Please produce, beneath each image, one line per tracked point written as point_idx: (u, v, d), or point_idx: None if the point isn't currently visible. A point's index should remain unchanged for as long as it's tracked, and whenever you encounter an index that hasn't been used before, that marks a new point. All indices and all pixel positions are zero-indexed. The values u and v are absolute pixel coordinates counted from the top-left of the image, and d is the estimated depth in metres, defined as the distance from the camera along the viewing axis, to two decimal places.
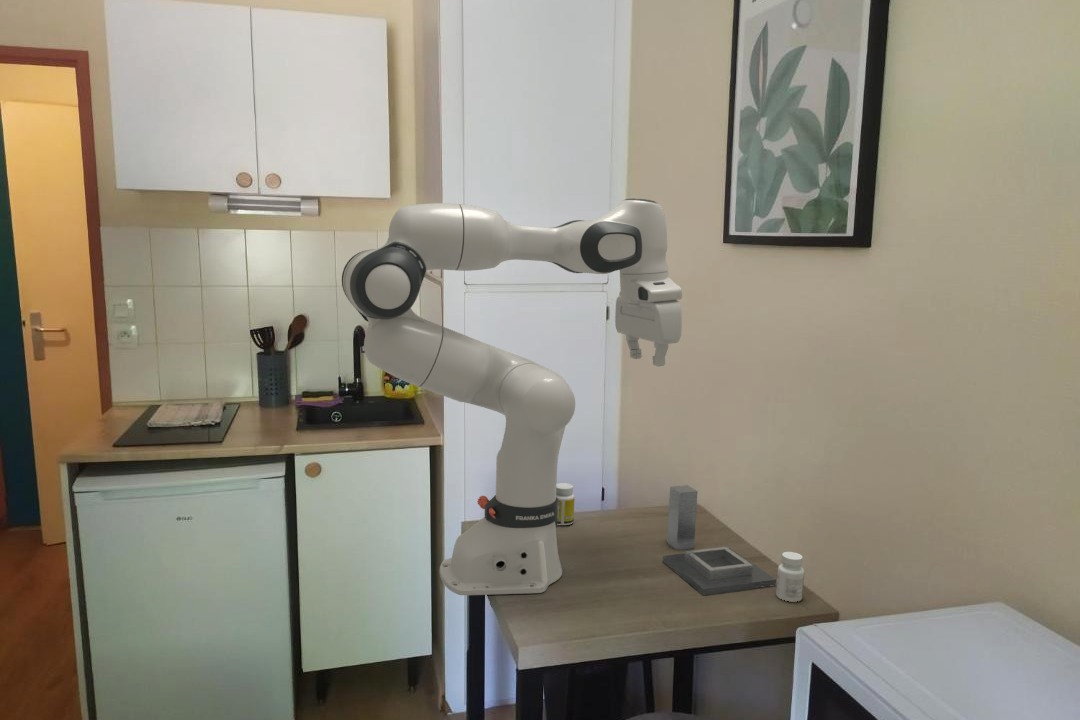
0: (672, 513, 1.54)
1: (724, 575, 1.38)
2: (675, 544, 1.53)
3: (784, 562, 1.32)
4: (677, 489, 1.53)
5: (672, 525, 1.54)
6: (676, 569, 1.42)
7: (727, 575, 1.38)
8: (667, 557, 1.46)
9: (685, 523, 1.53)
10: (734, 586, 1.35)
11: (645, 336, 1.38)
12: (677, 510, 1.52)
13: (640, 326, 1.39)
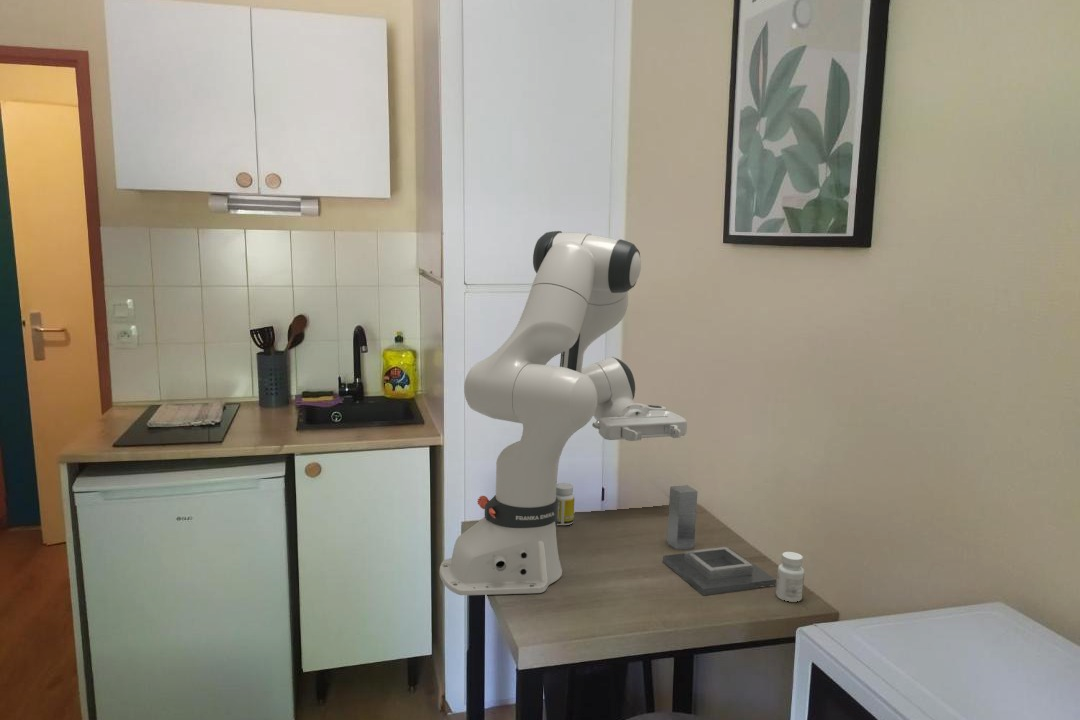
0: (672, 513, 1.54)
1: (724, 575, 1.38)
2: (675, 544, 1.53)
3: (784, 562, 1.32)
4: (677, 489, 1.53)
5: (672, 525, 1.54)
6: (676, 569, 1.42)
7: (727, 575, 1.38)
8: (667, 557, 1.46)
9: (685, 523, 1.53)
10: (734, 586, 1.35)
11: (661, 421, 1.70)
12: (677, 510, 1.52)
13: (649, 420, 1.71)
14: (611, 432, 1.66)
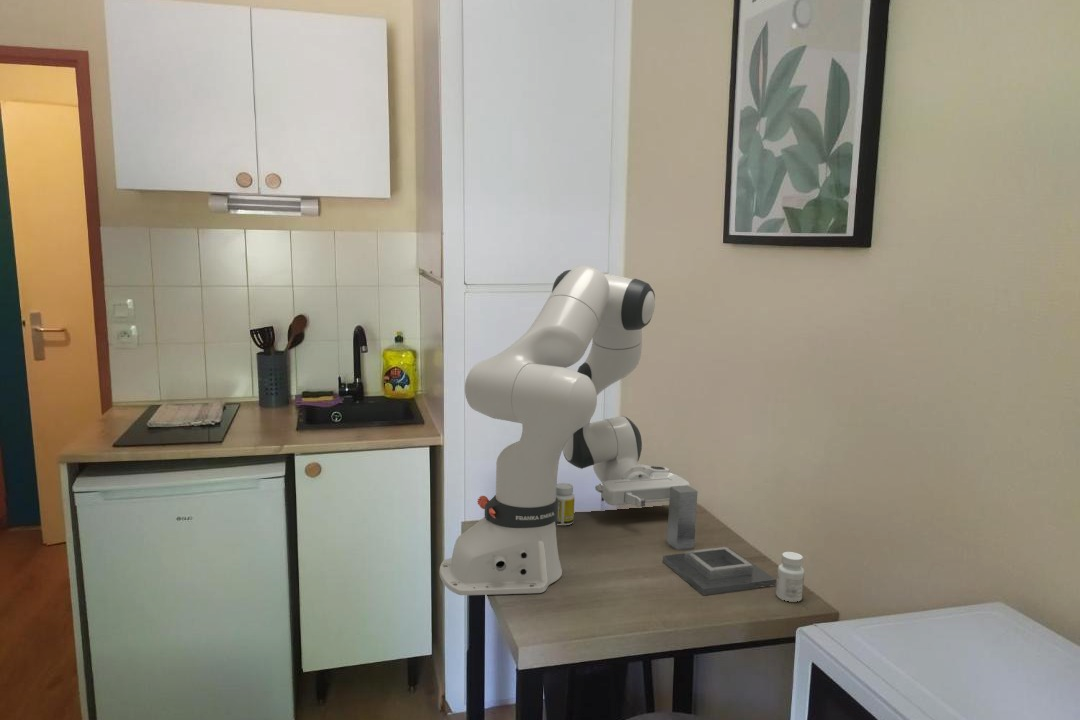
0: (672, 513, 1.54)
1: (724, 575, 1.38)
2: (675, 544, 1.53)
3: (784, 562, 1.32)
4: (677, 489, 1.53)
5: (672, 525, 1.54)
6: (676, 569, 1.42)
7: (727, 575, 1.38)
8: (667, 557, 1.46)
9: (685, 523, 1.53)
10: (734, 586, 1.35)
11: (664, 485, 1.68)
12: (677, 510, 1.52)
13: (652, 483, 1.69)
14: (614, 498, 1.64)
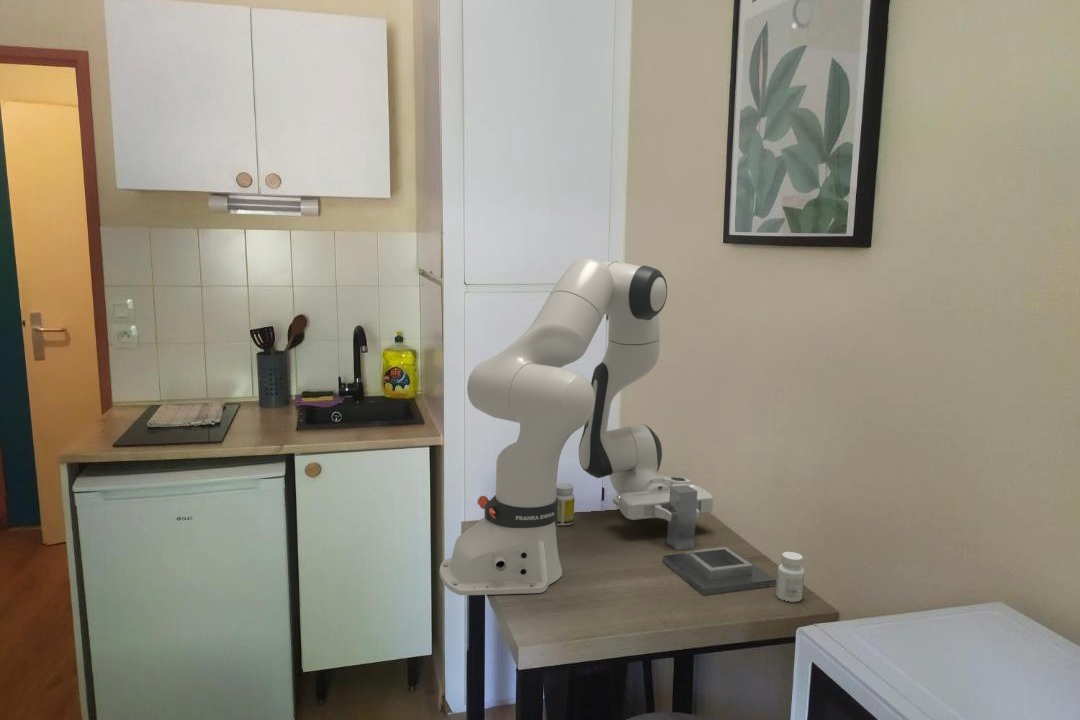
0: None
1: (724, 575, 1.38)
2: (675, 544, 1.53)
3: (784, 562, 1.32)
4: (677, 489, 1.53)
5: (672, 525, 1.54)
6: (676, 569, 1.42)
7: (727, 575, 1.38)
8: (667, 557, 1.46)
9: (685, 523, 1.53)
10: (734, 586, 1.35)
11: None
12: (677, 510, 1.52)
13: None
14: (634, 512, 1.55)
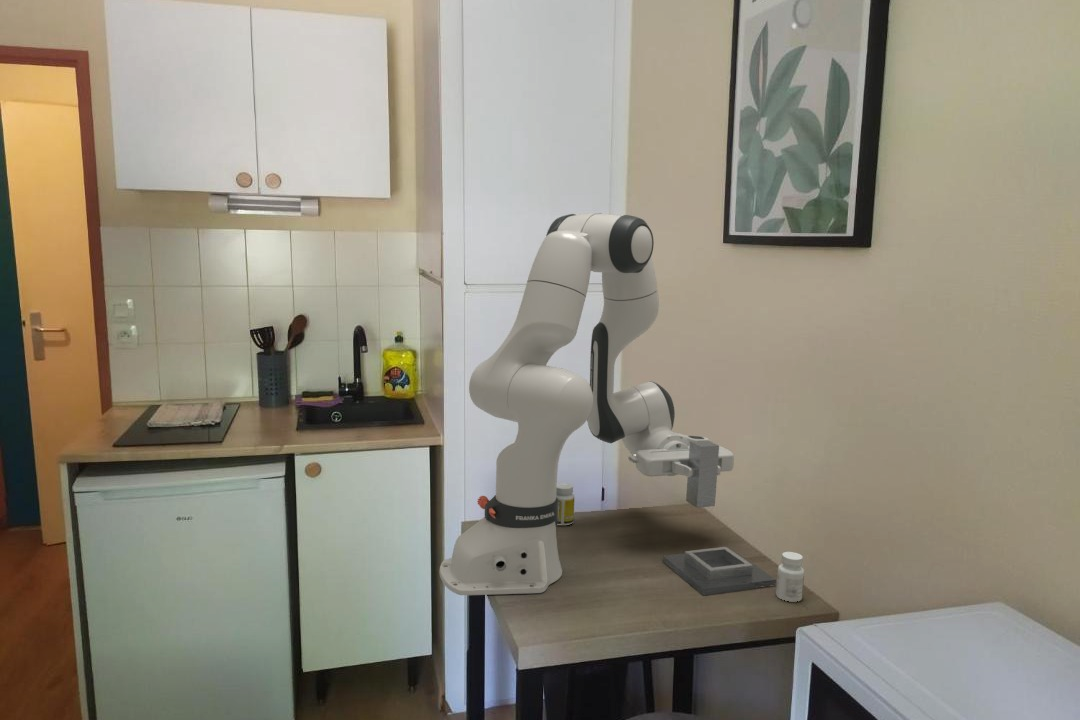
0: None
1: (724, 575, 1.38)
2: (695, 501, 1.45)
3: (784, 562, 1.32)
4: (697, 443, 1.45)
5: (692, 482, 1.47)
6: (676, 569, 1.42)
7: (727, 575, 1.38)
8: (667, 557, 1.46)
9: (706, 480, 1.45)
10: (734, 586, 1.35)
11: None
12: (698, 465, 1.44)
13: None
14: (652, 468, 1.47)
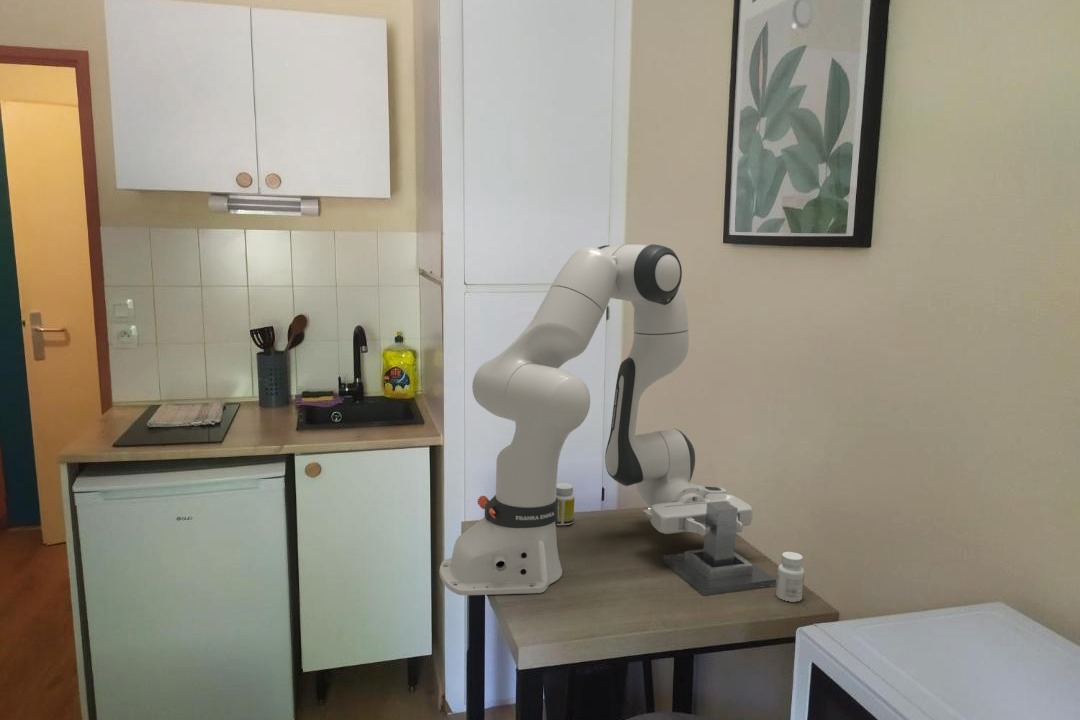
0: None
1: (724, 575, 1.38)
2: (712, 566, 1.40)
3: (784, 562, 1.32)
4: (715, 506, 1.40)
5: (709, 545, 1.41)
6: (676, 569, 1.42)
7: (727, 575, 1.38)
8: (667, 557, 1.46)
9: (724, 544, 1.40)
10: (734, 586, 1.35)
11: None
12: (715, 529, 1.39)
13: None
14: (667, 525, 1.42)
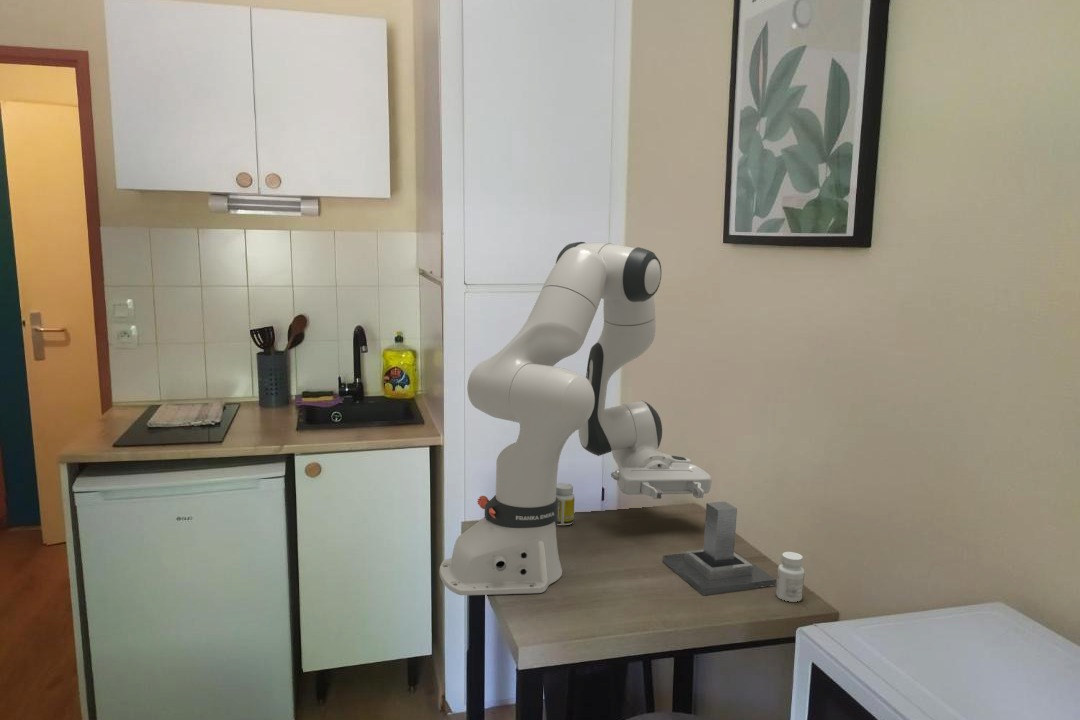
0: (709, 532, 1.41)
1: (724, 575, 1.38)
2: (712, 566, 1.40)
3: (784, 562, 1.32)
4: (714, 506, 1.40)
5: (709, 545, 1.41)
6: (676, 569, 1.42)
7: (727, 575, 1.38)
8: (667, 557, 1.46)
9: (724, 544, 1.40)
10: (734, 586, 1.35)
11: (683, 477, 1.60)
12: (715, 529, 1.39)
13: (671, 474, 1.61)
14: (630, 487, 1.56)
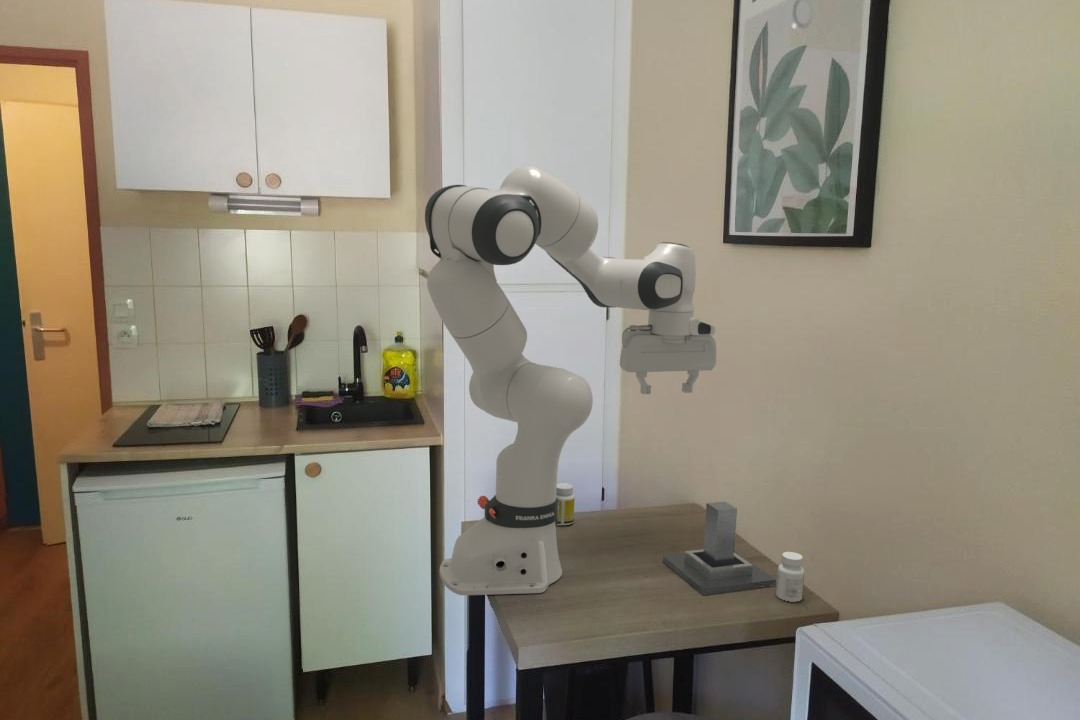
0: (709, 532, 1.41)
1: (724, 575, 1.38)
2: (712, 566, 1.40)
3: (784, 562, 1.32)
4: (714, 506, 1.40)
5: (709, 545, 1.41)
6: (676, 569, 1.42)
7: (727, 575, 1.38)
8: (667, 557, 1.46)
9: (724, 544, 1.40)
10: (734, 586, 1.35)
11: (687, 367, 1.52)
12: (715, 529, 1.39)
13: (678, 360, 1.52)
14: (627, 371, 1.50)
